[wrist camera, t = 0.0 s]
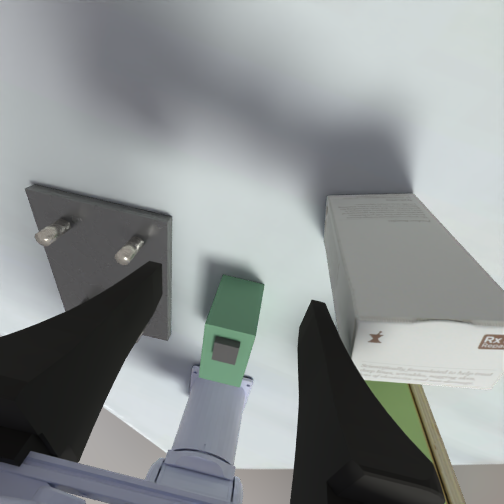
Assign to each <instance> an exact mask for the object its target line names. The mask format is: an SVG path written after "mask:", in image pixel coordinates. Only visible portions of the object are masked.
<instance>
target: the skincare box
mask: <svg viewBox="0 0 504 504" xmlns="http://www.w3.org/2000/svg"><path fill="white" fill-rule="evenodd" d="M324 244H325V249H326V255H327V262H328V269H329V275H330V282H331V288H332V294H333V301H334V307H335V313H336V320H337V327H338V332H339V336H340V338H341V340H342V342H343V344H344V346H345V348H346V350H347V352H348V354H349V355H350V357H351V359H352V361H353V363H354V364H355V366H356V368H357V369H358V371H359V373H360V374H361V376H362V377H363V379H364V380H371V381H384V382H396V383H411V384H421V385H435V386H448V387H461V388H474V389H484V390H490V389H492V388H493V387H494V385H495V384H496V383H497V381H498V380H499V379H500V377H501V376H502V375H503V373H504V290H503V289H502V288H501V287H500V286H499V285H498V284H497V283H496V282H495V281H494V280H493V279H492V278H491V277H490V275H489V274H488V273H487V272H486V271H485V270H484V269H483V268H482V267H481V266H480V265H479V264H478V263H477V261H476V260H475V259H474V258H473V257H472V256H471V255H470V254H469V253H468V252H467V251H466V250H465V248H464V247H463V246H462V245H461V244H460V243H459V242H458V241H457V240H456V239H455V238H454V237H453V236H452V234H451V233H450V232H449V231H448V230H447V229H446V228H445V227H444V226H443V225H442V224H441V223H440V222H439V220H438V219H437V218H436V217H435V216H434V215H433V214H432V213H431V212H430V211H429V210H428V209H427V207H426V206H425V205H424V204H423V203H422V202H421V201H420V200H419V199H418V198H417V197H416V195H415V194H411V193H410V194H368V195H329V196H327V201H326V214H325V229H324Z"/></svg>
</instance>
